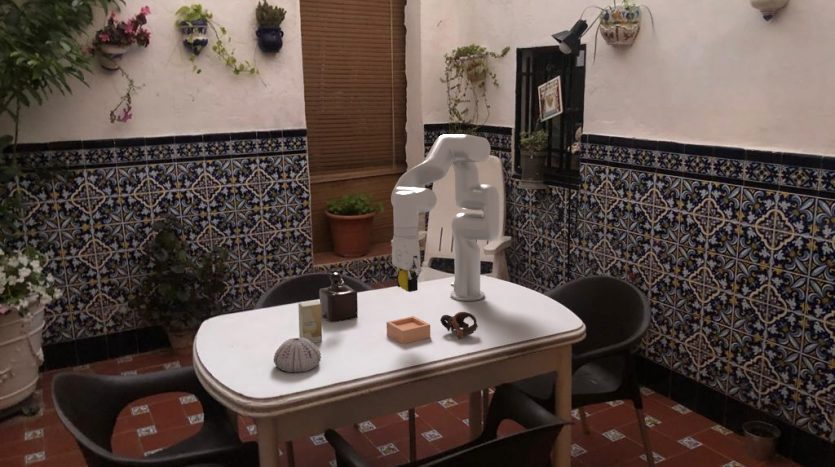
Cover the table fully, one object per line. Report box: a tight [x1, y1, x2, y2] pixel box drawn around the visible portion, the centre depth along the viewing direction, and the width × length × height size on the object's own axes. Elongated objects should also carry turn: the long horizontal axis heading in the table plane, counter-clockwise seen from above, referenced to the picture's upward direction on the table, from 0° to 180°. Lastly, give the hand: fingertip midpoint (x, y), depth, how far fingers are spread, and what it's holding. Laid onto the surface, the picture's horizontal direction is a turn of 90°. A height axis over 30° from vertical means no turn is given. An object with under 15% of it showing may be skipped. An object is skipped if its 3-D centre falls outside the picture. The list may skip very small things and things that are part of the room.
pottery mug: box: [440, 311, 479, 340], centre depth 215 cm, size 12×10×8 cm
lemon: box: [398, 269, 414, 292], centre depth 211 cm, size 6×6×8 cm
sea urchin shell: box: [273, 337, 322, 373], centre depth 193 cm, size 13×14×8 cm
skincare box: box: [297, 300, 323, 343], centre depth 211 cm, size 6×4×12 cm
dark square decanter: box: [318, 269, 359, 323], centre depth 231 cm, size 16×11×18 cm
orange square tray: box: [386, 315, 431, 345], centre depth 214 cm, size 10×10×4 cm
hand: (407, 288), depth 211 cm, fingers closed on lemon, 5 cm apart
